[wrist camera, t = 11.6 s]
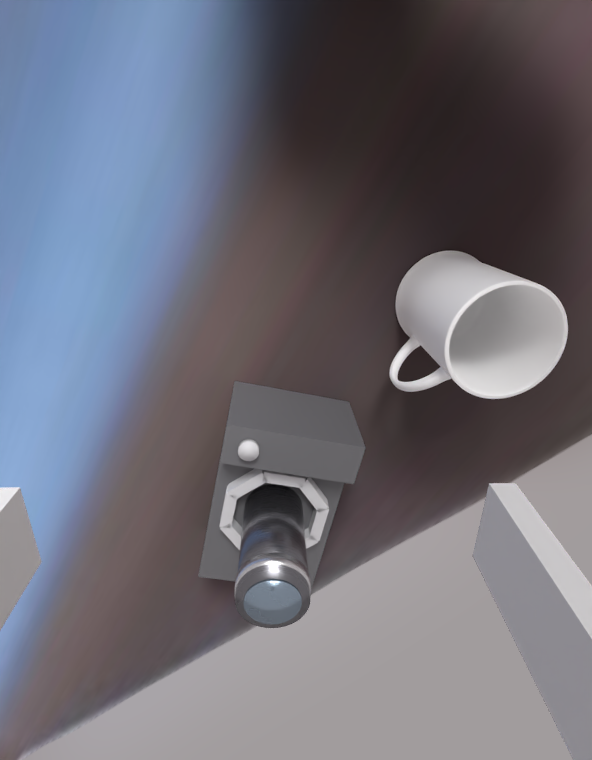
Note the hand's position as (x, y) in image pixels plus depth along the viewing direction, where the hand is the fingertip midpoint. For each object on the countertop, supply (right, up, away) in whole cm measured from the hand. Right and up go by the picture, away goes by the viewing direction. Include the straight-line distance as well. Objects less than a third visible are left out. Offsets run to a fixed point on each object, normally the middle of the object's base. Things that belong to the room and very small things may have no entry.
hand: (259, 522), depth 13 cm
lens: (-1, -7, +28) cm, 29 cm away
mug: (+13, +10, +28) cm, 32 cm away
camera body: (-1, -5, +34) cm, 34 cm away
